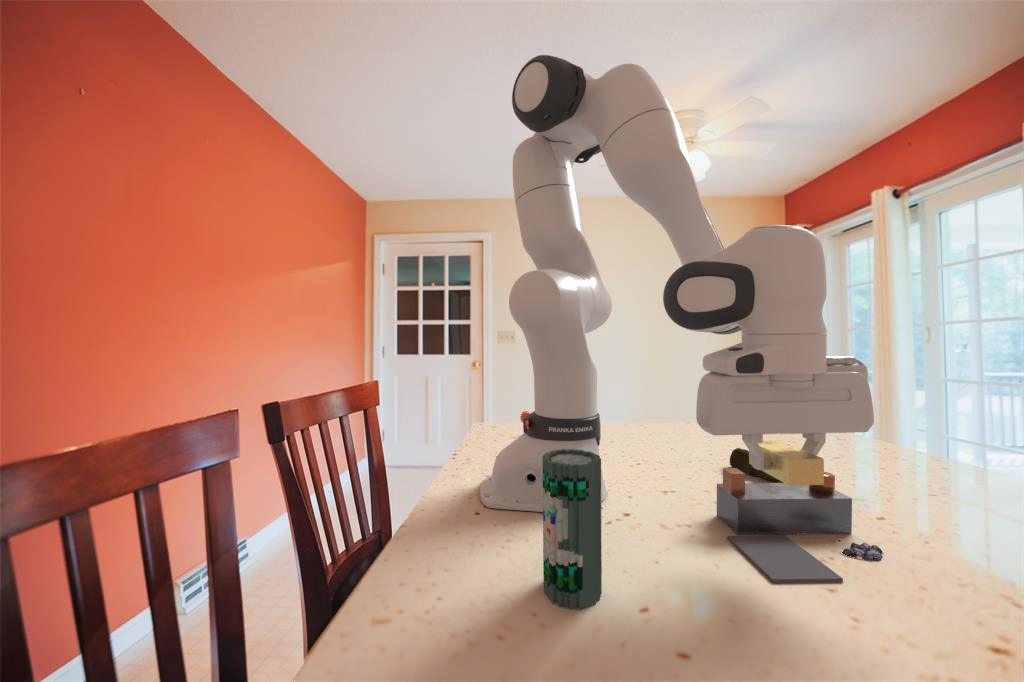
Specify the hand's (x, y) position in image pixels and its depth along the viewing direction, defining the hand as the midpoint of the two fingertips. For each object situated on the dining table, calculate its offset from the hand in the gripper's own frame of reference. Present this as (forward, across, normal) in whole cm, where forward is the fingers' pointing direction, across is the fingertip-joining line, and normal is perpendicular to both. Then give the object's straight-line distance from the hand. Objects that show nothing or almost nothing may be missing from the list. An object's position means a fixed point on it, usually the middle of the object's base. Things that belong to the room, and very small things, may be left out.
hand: (783, 468), depth 52 cm
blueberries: (+12, -11, -2) cm, 17 cm away
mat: (+12, 0, 0) cm, 12 cm away
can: (+12, +27, +6) cm, 30 cm away
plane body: (+12, -6, -9) cm, 16 cm away
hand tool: (+12, -15, -26) cm, 32 cm away
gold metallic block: (+1, 0, 0) cm, 1 cm away
